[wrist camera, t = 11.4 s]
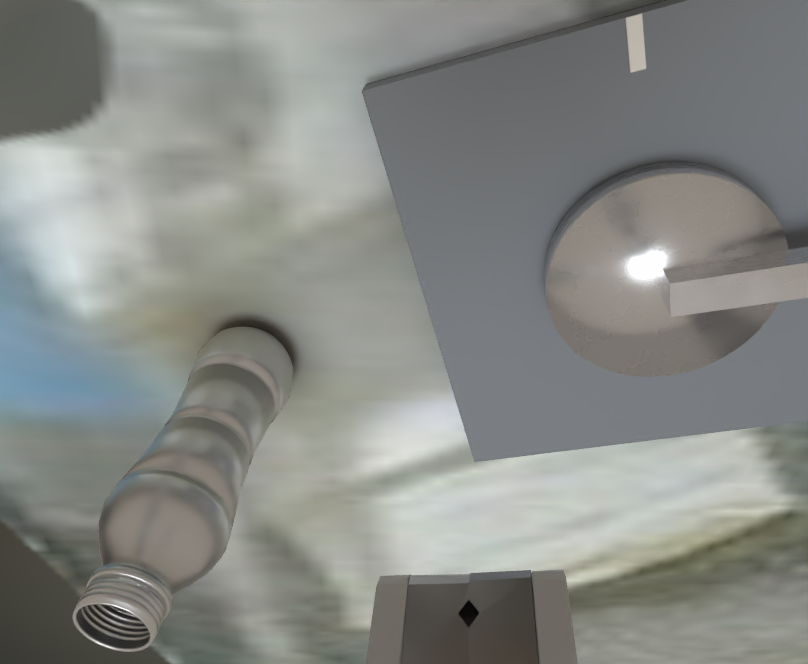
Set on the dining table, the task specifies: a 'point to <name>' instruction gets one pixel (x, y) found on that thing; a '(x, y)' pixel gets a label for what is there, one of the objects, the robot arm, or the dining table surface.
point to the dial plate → (570, 181)
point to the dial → (668, 269)
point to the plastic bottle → (183, 489)
